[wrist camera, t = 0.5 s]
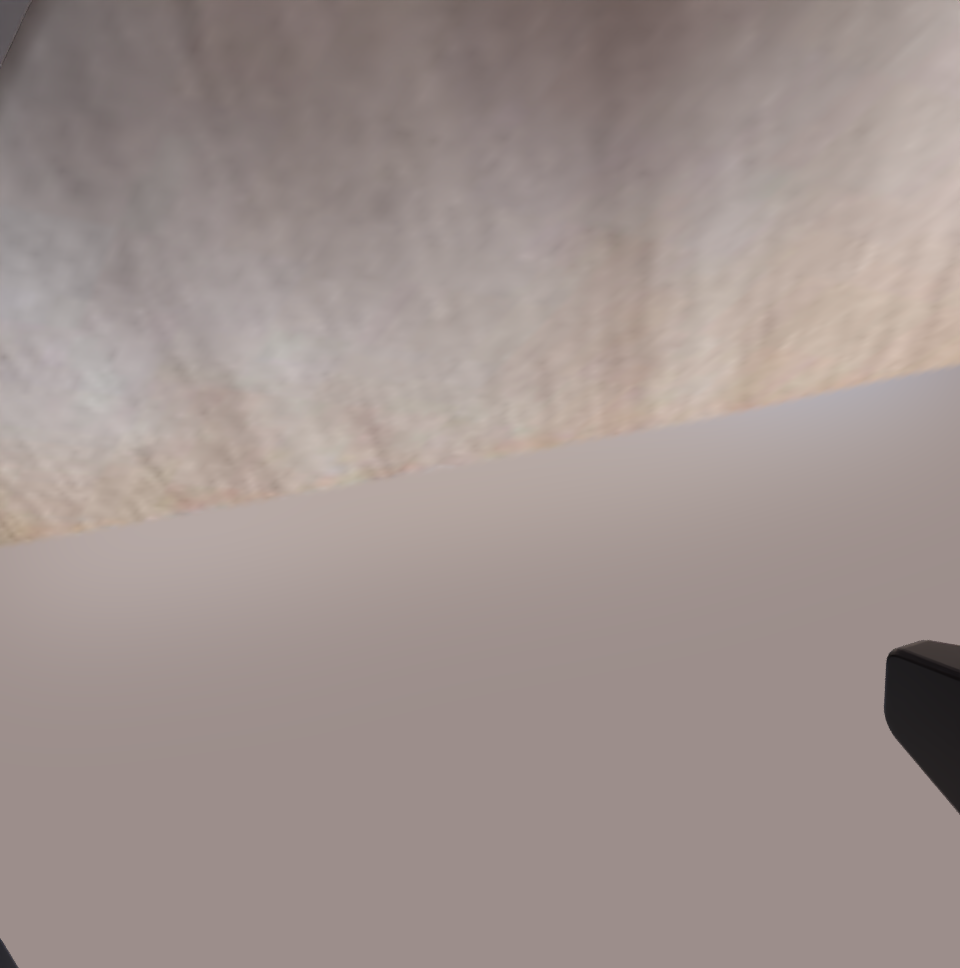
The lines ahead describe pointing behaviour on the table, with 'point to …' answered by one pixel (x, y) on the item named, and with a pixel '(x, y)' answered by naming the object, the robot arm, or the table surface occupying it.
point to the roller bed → (10, 22)
